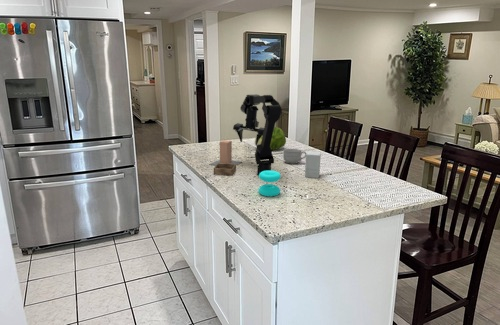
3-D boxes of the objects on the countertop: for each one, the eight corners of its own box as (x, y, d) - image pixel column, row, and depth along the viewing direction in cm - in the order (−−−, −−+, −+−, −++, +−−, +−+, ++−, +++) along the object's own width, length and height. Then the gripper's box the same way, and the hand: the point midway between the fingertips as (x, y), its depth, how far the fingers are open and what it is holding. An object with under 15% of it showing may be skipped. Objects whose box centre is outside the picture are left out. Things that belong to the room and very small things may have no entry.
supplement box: (319, 174, 203) (321, 151, 199) (318, 178, 196) (320, 155, 192) (306, 173, 205) (307, 150, 201) (304, 177, 198) (305, 154, 194)
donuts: (276, 169, 177) (284, 175, 167) (275, 189, 179) (283, 196, 170) (256, 170, 174) (262, 176, 165) (255, 190, 177) (262, 198, 168)
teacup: (280, 163, 223) (280, 150, 221) (287, 159, 232) (287, 146, 230) (302, 166, 217) (302, 153, 215) (308, 162, 226) (309, 149, 224)
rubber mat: (242, 162, 223) (242, 161, 223) (229, 168, 212) (229, 167, 212) (222, 159, 230) (222, 158, 230) (209, 164, 218) (209, 164, 218)
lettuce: (253, 150, 263) (248, 131, 256) (279, 139, 268) (275, 120, 261) (263, 159, 250) (258, 140, 242) (290, 147, 255) (286, 128, 247)
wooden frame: (235, 170, 208) (236, 164, 207) (232, 175, 198) (232, 169, 197) (217, 169, 209) (217, 163, 209) (213, 174, 200) (213, 168, 199)
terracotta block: (231, 162, 222) (231, 141, 218) (227, 164, 217) (227, 142, 214) (224, 161, 224) (224, 140, 220) (219, 163, 220) (219, 141, 216)
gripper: (271, 117, 215) (268, 143, 220) (241, 111, 220) (238, 137, 225) (265, 120, 205) (262, 147, 210) (233, 115, 210) (231, 141, 215)
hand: (248, 143), depth 215 cm, fingers open, 9 cm apart
